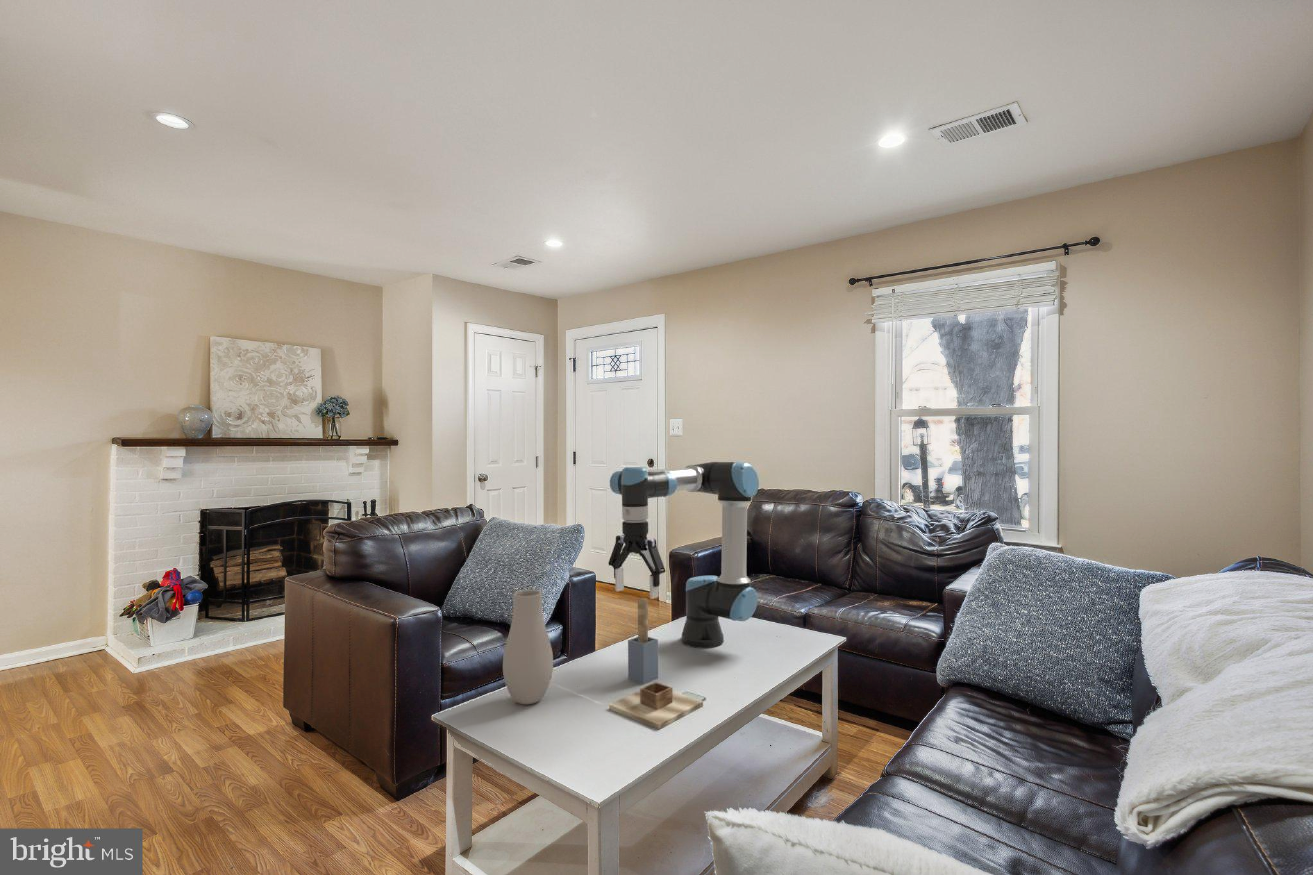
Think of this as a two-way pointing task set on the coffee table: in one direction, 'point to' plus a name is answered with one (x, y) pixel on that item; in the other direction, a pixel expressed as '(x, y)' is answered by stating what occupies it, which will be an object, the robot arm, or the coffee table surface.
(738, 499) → the robot arm
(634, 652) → the grey square tube
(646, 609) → the dowel
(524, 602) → the vase
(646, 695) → the board with square socket
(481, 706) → the coffee table surface
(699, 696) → the smartphone
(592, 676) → the coffee table surface
